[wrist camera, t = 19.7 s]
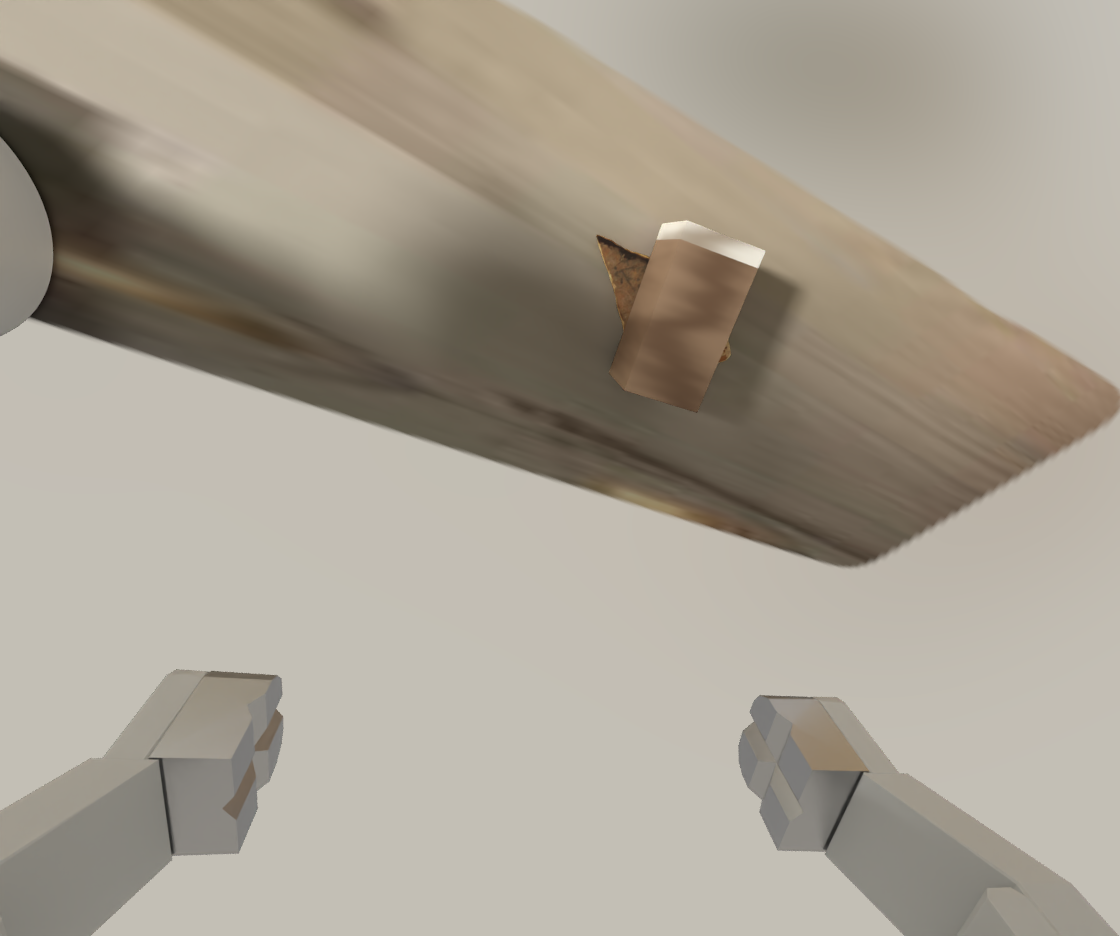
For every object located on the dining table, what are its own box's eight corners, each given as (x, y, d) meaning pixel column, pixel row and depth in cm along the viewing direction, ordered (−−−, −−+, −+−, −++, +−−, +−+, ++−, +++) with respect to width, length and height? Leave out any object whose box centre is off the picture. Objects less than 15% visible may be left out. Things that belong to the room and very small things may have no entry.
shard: (592, 235, 37) (597, 234, 35) (701, 194, 36) (711, 191, 35) (636, 386, 41) (642, 392, 39) (735, 350, 41) (745, 354, 39)
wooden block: (624, 390, 34) (687, 220, 30) (608, 372, 38) (662, 223, 35) (697, 412, 35) (765, 250, 32) (673, 393, 39) (731, 250, 36)
